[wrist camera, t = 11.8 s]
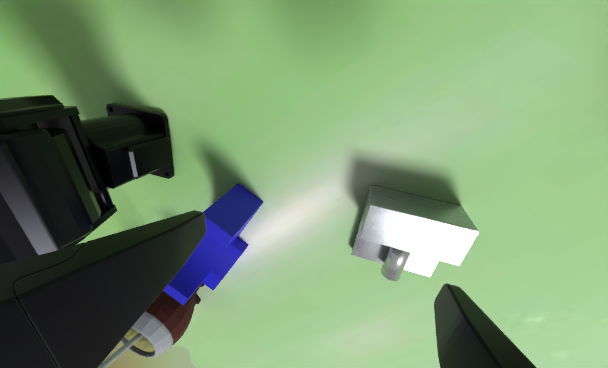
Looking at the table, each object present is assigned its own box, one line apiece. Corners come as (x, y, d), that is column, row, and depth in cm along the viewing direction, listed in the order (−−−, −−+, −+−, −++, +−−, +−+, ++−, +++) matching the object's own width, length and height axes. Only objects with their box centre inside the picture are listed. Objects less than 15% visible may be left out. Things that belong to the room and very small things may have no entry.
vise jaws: (352, 249, 23) (348, 276, 20) (523, -328, 9) (595, -523, 6) (428, 270, 22) (437, 303, 19) (749, -356, 8) (973, -613, 5)
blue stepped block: (227, 271, 29) (195, 314, 24) (197, 249, 29) (159, 288, 24) (276, 210, 24) (248, 249, 18) (240, 182, 23) (201, 213, 18)
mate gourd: (183, 304, 35) (67, 445, 22) (152, 262, 32) (0, 391, 19) (222, 300, 32) (115, 460, 19) (191, 254, 30) (44, 398, 16)
